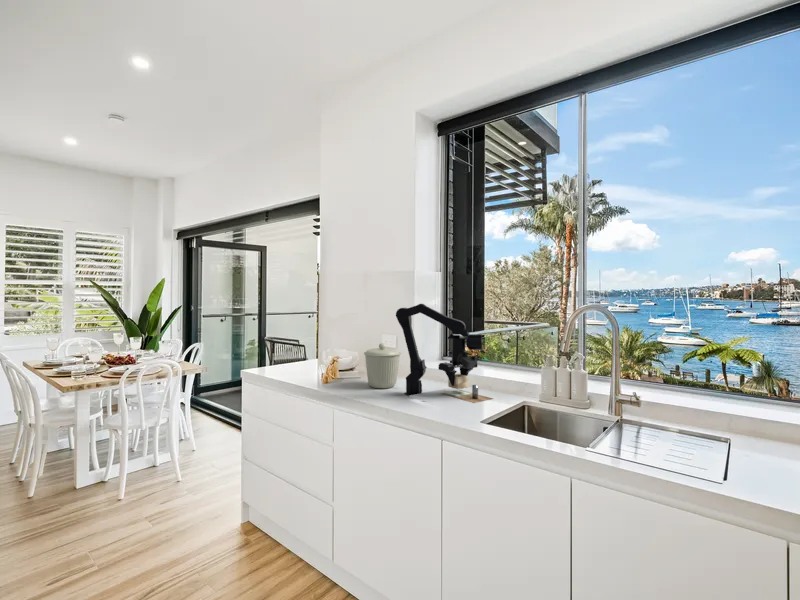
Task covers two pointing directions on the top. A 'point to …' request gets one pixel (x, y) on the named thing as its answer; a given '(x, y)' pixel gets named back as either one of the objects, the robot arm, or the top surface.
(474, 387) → the post
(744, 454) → the top surface
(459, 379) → the collar
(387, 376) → the canister
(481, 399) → the board
